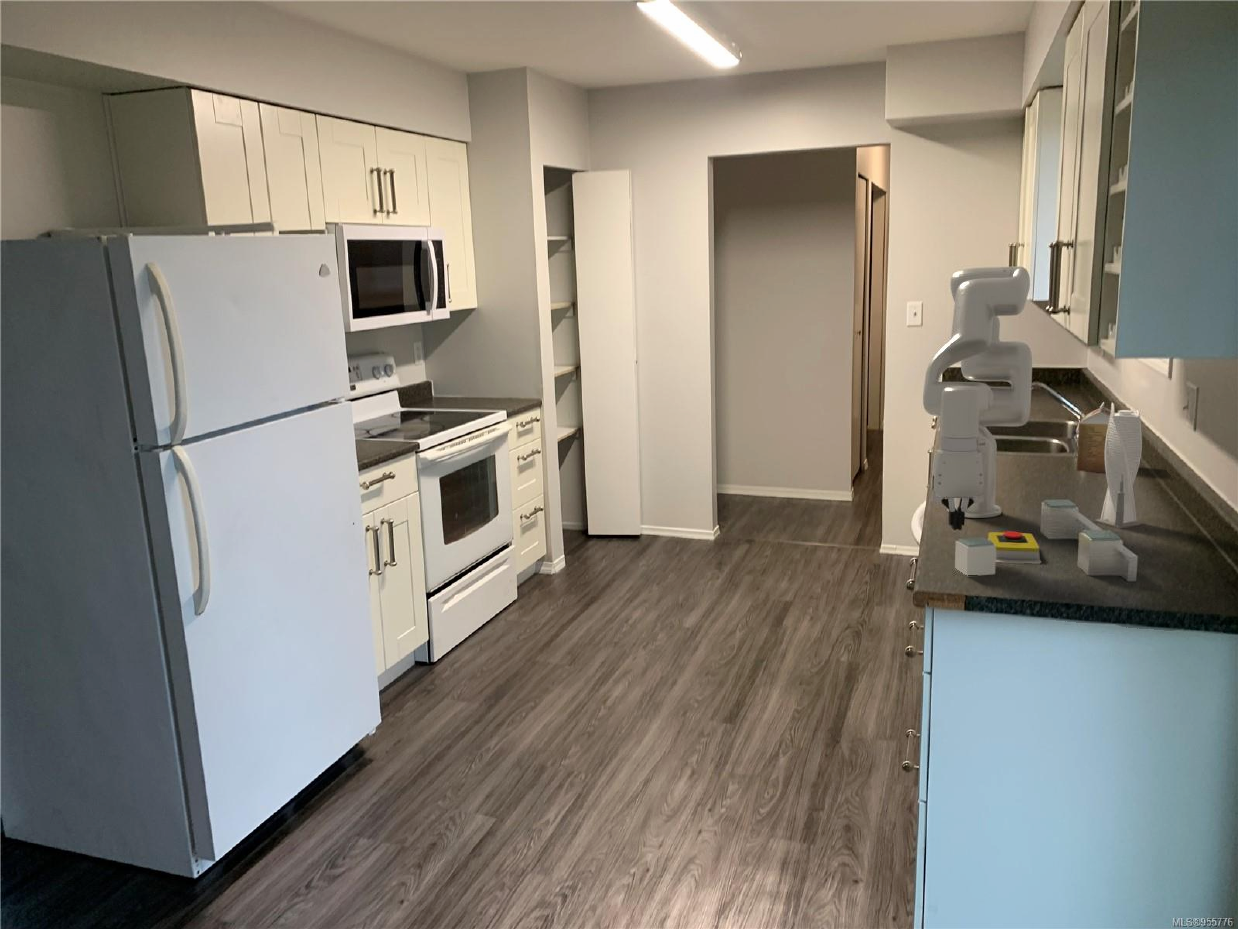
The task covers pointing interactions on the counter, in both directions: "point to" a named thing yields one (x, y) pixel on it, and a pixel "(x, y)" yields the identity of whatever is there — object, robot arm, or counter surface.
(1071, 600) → the counter surface
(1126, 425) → the skyscraper
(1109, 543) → the rail fixture
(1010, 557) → the emergency button
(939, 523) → the counter surface
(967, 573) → the block
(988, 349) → the robot arm
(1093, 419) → the milk carton
